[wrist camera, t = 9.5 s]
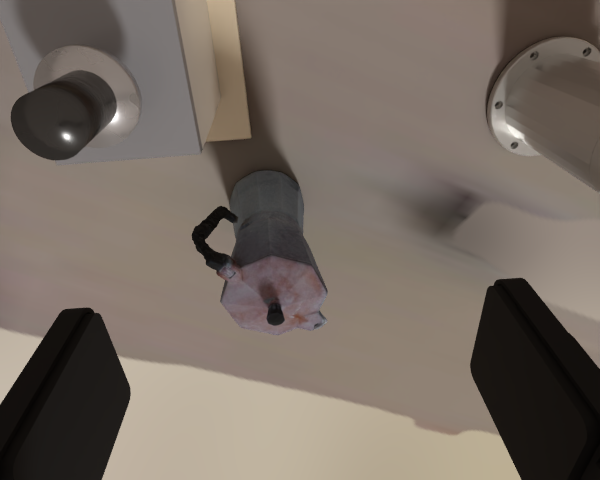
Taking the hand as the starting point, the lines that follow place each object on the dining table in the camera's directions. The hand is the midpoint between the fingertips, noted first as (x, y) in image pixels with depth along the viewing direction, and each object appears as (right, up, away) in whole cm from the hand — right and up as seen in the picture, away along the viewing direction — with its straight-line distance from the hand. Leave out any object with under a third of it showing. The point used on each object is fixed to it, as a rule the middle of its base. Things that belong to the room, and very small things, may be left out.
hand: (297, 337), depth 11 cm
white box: (-13, +22, +31) cm, 40 cm away
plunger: (-13, +20, +29) cm, 38 cm away
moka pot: (-4, +7, +41) cm, 42 cm away
